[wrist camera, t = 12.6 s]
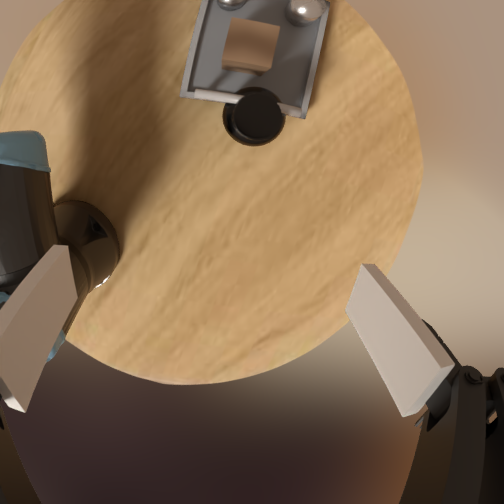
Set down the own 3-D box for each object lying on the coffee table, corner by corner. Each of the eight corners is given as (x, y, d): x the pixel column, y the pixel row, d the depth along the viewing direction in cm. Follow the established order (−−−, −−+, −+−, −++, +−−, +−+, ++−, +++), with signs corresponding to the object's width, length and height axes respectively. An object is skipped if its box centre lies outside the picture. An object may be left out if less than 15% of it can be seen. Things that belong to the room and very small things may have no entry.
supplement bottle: (266, 85, 35) (284, 76, 24) (279, 131, 38) (302, 141, 27) (216, 99, 35) (213, 94, 24) (230, 145, 38) (234, 160, 27)
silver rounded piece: (281, 22, 29) (290, 11, 24) (287, -1, 27) (296, -14, 23) (311, 30, 29) (323, 21, 25) (316, 7, 28) (328, -4, 23)
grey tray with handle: (182, 98, 35) (169, 95, 25) (210, -15, 27) (207, -48, 17) (298, 118, 37) (323, 123, 28) (322, 8, 30) (351, -15, 20)
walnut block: (229, 34, 29) (231, 17, 22) (268, 42, 30) (280, 26, 23) (221, 69, 31) (221, 59, 24) (260, 76, 32) (270, 68, 25)
